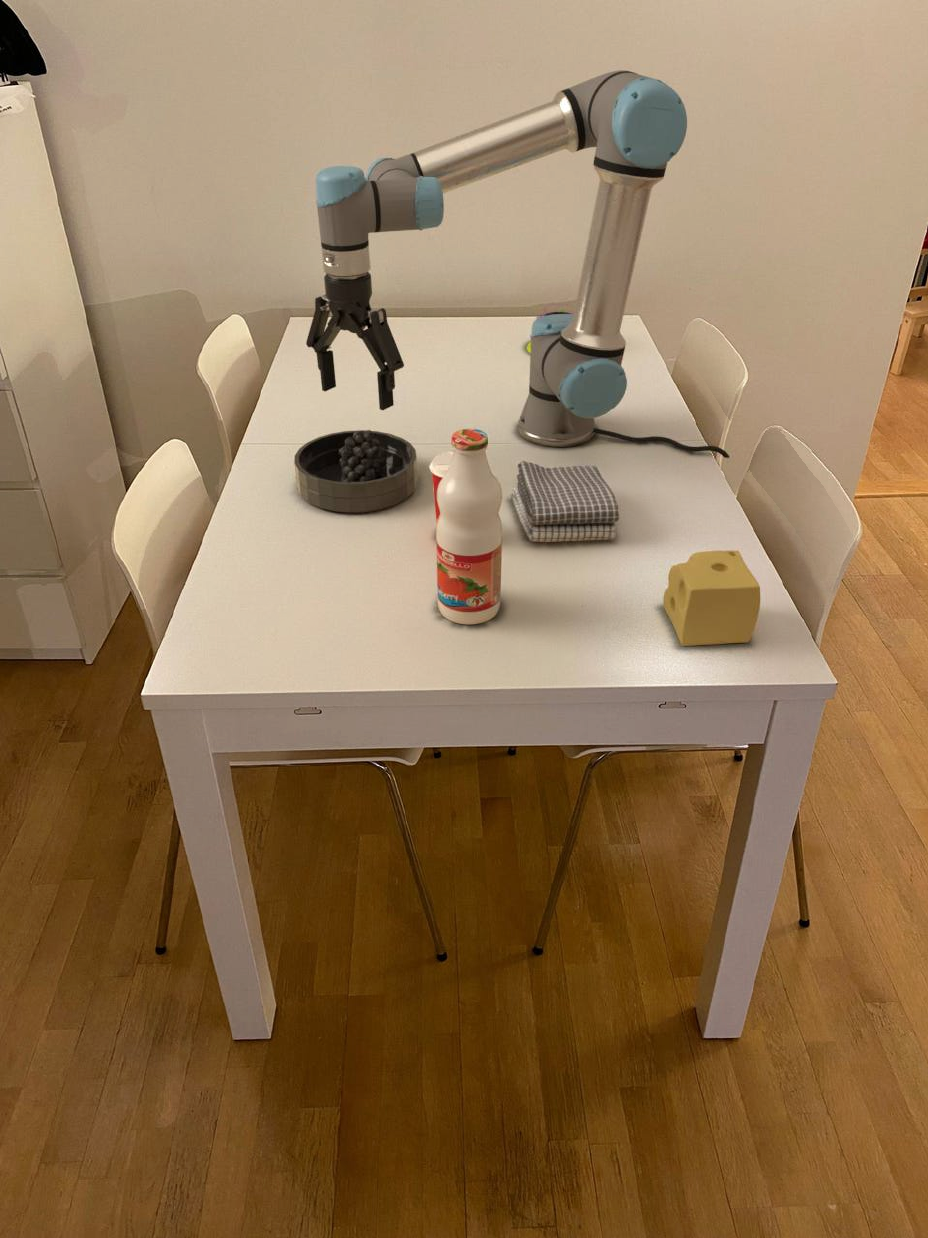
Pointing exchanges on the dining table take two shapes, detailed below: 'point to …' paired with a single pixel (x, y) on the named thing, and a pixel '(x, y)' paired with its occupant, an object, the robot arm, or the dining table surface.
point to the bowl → (327, 490)
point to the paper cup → (439, 473)
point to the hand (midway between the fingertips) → (357, 397)
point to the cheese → (712, 599)
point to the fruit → (361, 457)
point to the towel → (564, 503)
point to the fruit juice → (469, 533)
